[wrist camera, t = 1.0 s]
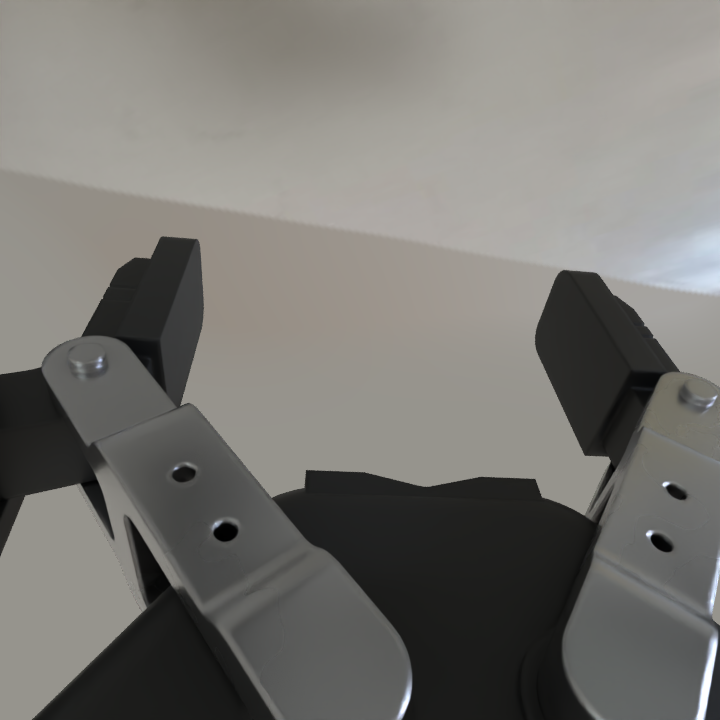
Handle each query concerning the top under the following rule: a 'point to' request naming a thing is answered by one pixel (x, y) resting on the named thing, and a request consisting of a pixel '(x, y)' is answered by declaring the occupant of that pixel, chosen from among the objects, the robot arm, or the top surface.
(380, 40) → the top surface
